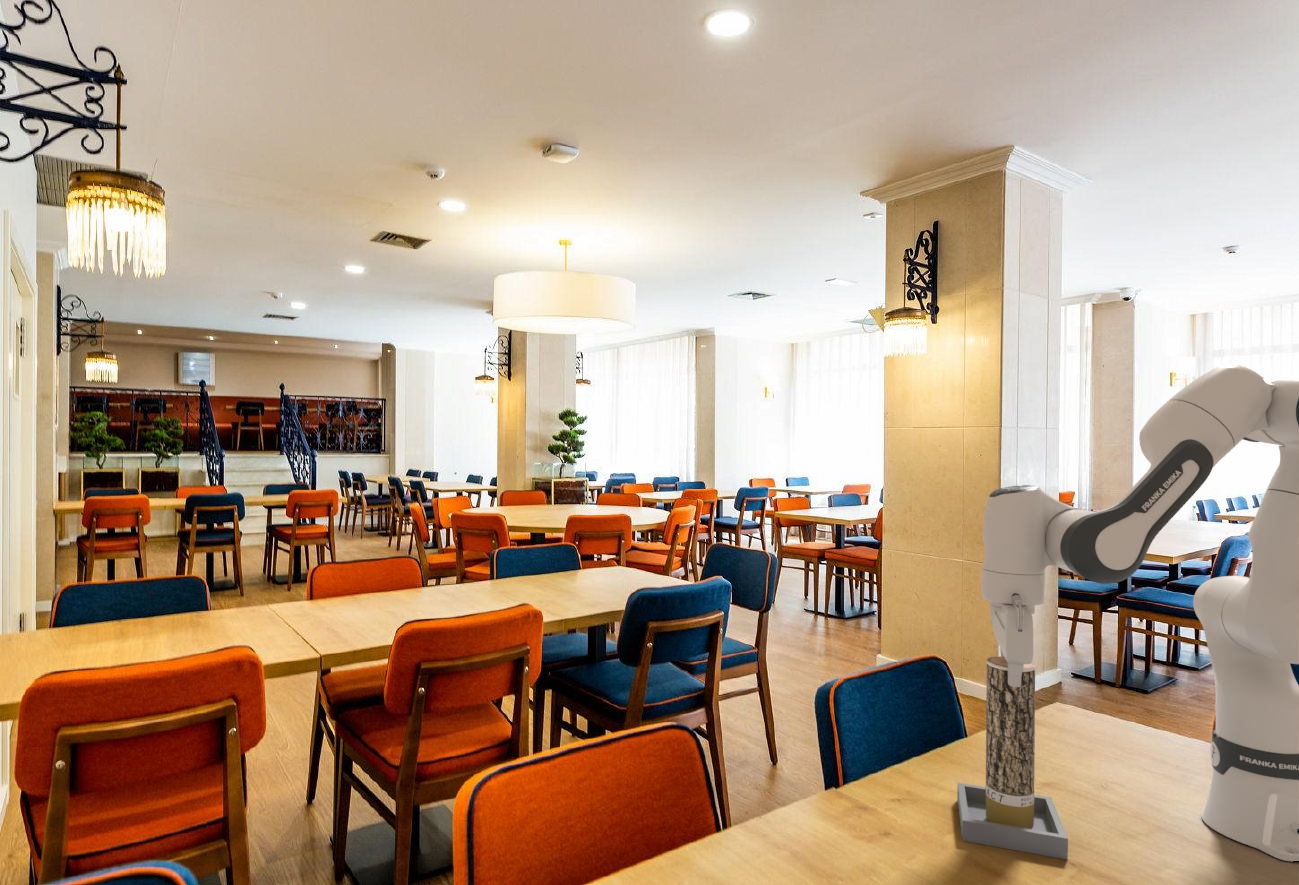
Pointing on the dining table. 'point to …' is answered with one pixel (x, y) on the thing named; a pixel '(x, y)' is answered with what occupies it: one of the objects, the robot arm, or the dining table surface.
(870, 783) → the dining table surface
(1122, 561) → the robot arm
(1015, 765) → the paper tube
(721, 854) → the dining table surface
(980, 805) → the tray
